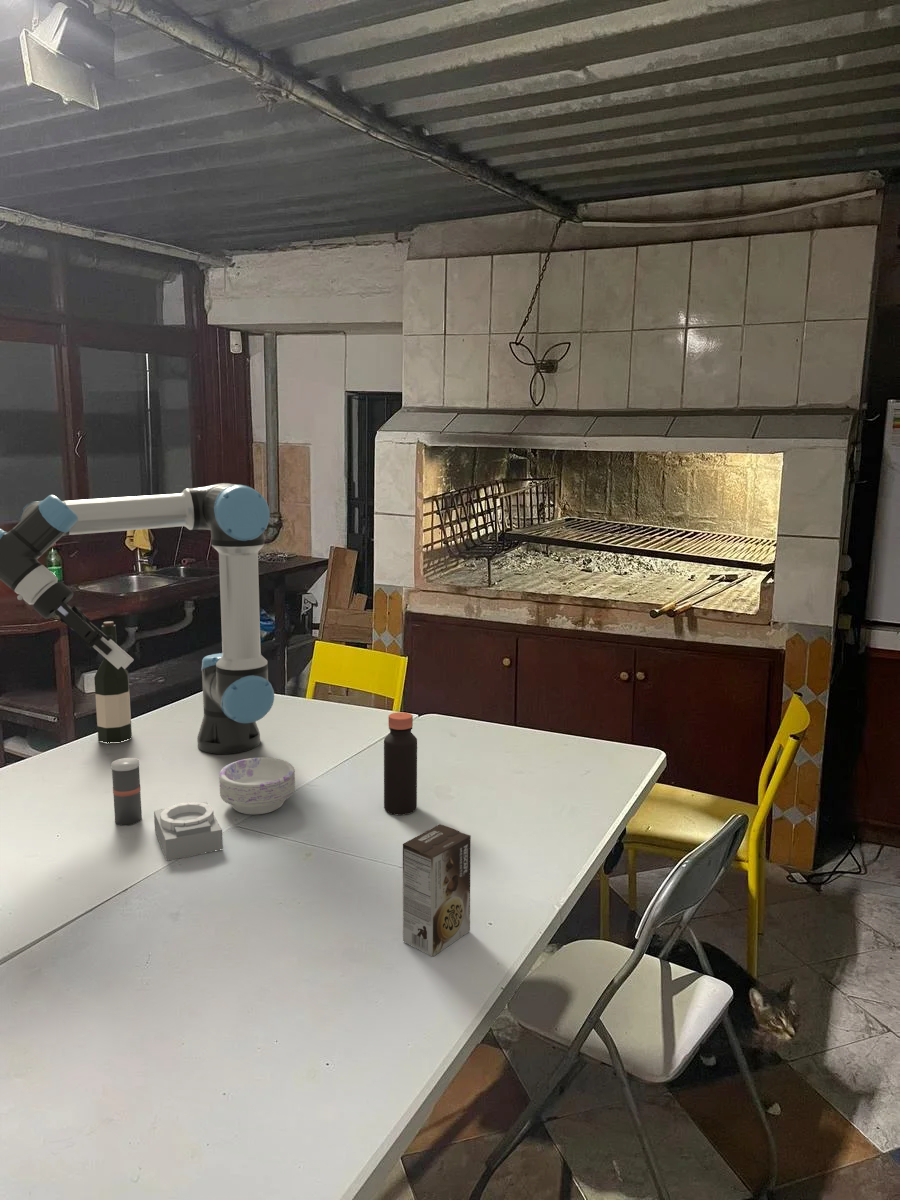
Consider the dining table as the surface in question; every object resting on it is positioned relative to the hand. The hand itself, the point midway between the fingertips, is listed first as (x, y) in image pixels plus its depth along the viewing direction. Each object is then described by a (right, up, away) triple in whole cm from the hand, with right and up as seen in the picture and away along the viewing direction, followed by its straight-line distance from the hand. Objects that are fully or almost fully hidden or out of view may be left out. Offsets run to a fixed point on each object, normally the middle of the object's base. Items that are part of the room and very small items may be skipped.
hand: (126, 664), depth 179 cm
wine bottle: (-18, -22, +41) cm, 50 cm away
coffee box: (+64, -39, -45) cm, 88 cm away
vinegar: (+56, -30, +1) cm, 64 cm away
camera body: (+17, -32, -14) cm, 39 cm away
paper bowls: (+27, -30, +2) cm, 40 cm away
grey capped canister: (+2, -30, -6) cm, 31 cm away
